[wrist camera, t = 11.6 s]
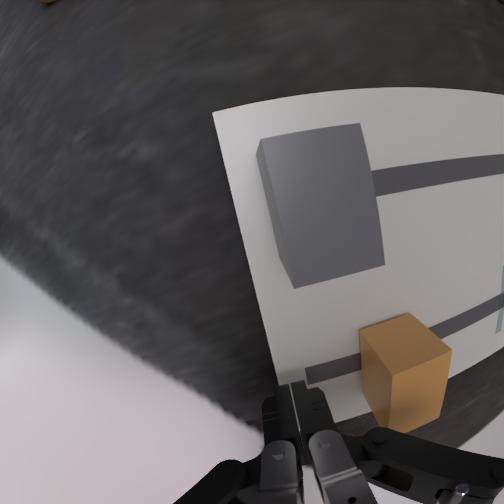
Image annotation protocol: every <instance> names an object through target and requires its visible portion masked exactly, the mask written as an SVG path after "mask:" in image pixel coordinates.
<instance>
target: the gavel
mask: <svg viewBox="0 0 504 504" xmlns="http://www.w3.org/2000/svg"><path fill="white" fill-rule="evenodd" d="M35 1H37V2H42V3H48V2H54V1H57V0H35Z"/></svg>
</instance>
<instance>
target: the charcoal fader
mask: <svg viewBox="0 0 504 504" xmlns="http://www.w3.org/2000/svg"><path fill="white" fill-rule="evenodd" d="M256 158H257V162H258V166H259V171H260V175H261V179H262V183H263V187H264V192H265V196H266V200H267V205H268V209H269V213H270V218H271V222H272V227H273V231H274V236H275V240H276V245H277V249H278V254H279V258H280V260H281V262H282V264H283V266H284V268H285V270H286V273H287V275H288V277H289V279H290V281H291V283H292V285H293V288H294V289H296V288H300V287H304V286H308V285H312V284H316V283H320V282H324V281H328V280H331V279H335V278H339V277H343V276H347V275H350V274H354V273H358V272H362V271H365V270H369V269H372V268H376V267H380V266H383V265H385V258H384V249H383V240H382V233H381V225H380V218H379V212H378V205H377V199H376V194H375V188H374V183H373V177H372V172H371V167H370V163H369V158H368V153H367V149H366V145H365V141H364V136H363V132H362V128H361V125H360V123H355V124H346V125H339V126H331V127H325V128H318V129H312V130H306V131H300V132H294V133H288V134H283V135H278V136H273V137H268V138H263V139H260V142H259V146H258V149H257V152H256Z"/></svg>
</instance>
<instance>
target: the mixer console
mask: <svg viewBox="0 0 504 504" xmlns="http://www.w3.org/2000/svg"><path fill="white" fill-rule="evenodd" d="M213 118H214V122H215V126H216V130H217V134H218V139H219V143H220V147H221V151H222V155H223V160H224V164H225V168H226V172H227V176H228V180H229V184H230V189H231V193H232V197H233V201H234V205H235V209H236V213H237V217H238V222H239V226H240V230H241V234H242V238H243V242H244V246H245V250H246V254H247V258H248V262H249V266H250V271H251V275H252V279H253V283H254V287H255V291H256V295H257V299H258V303H259V307H260V311H261V315H262V319H263V323H264V327H265V331H266V335H267V339H268V343H269V347H270V351H271V355H272V359H273V363H274V367H275V371H276V375H277V379H278V383H279V385H283V384H288V383H289V386H290V391H291V395H292V400H293V404H294V399H293V394H292V390H291V385H290V383H292V382H296V381H300V380H305V383H306V386H307V389H310V388H314V387H318V388H319V389H321V390H322V391H323V392H324V394H325V397H326V400H327V402H328V405H329V408H330V411H331V414H332V417H333V419H334V422H335V423H336V422H339V421H343V420H346V419H349V418H353V417H356V416H359V415H362V414H365V413H368V412H371V411H372V410H371V408H370V406H369V405H368V403H367V401H366V399H365V397H364V395H363V393H362V366H361V348H360V334H359V330H361V329H365V328H368V327H371V326H374V325H377V324H380V323H383V322H386V321H389V320H392V319H395V318H398V317H401V316H404V315H406V314H409V313H411V314H412V315H413V316H414V317H415V318H417V319H418V320H419V321H420V322H421V323H422V324H424V325H425V326H426V327H427V328H428V329H429V330H431V331H432V332H433V333H434V334H435V335H436V336H437V337H439V338H440V339H441V340H442V341H443V342H444V343H445V344H446V345H448V346H449V347H450V348H451V349H452V356H451V362H450V368H449V374H448V379H449V378H450V377H452V376H454V375H456V374H458V373H460V372H462V371H464V370H466V369H467V368H469V367H471V366H473V365H474V364H476V363H478V362H480V361H481V360H483V359H485V358H486V357H488V356H490V355H491V354H493V353H494V352H496V351H497V350H499V349H501V348H502V347H504V95H500V94H493V93H486V92H478V91H469V90H458V89H443V88H416V87H395V88H367V89H351V90H340V91H329V92H320V93H312V94H305V95H298V96H291V97H285V98H279V99H273V100H267V101H262V102H257V103H252V104H247V105H242V106H238V107H234V108H229V109H225V110H221V111H217V112H213ZM355 123H360V125H361V128H362V132H363V136H364V141H365V145H366V149H367V153H368V158H369V163H370V167H371V172H372V177H373V183H374V188H375V194H376V199H377V205H378V212H379V218H380V225H381V233H382V240H383V249H384V258H385V265H383V266H380V267H376V268H372V269H369V270H365V271H362V272H358V273H354V274H350V275H347V276H343V277H339V278H335V279H331V280H328V281H324V282H320V283H316V284H312V285H308V286H304V287H300V288H296V289H294V288H293V285H292V283H291V281H290V279H289V277H288V275H287V273H286V270H285V268H284V266H283V264H282V262H281V260H280V258H279V254H278V249H277V245H276V240H275V236H274V231H273V227H272V222H271V218H270V213H269V209H268V205H267V200H266V196H265V192H264V187H263V183H262V179H261V175H260V171H259V166H258V162H257V158H256V152H257V149H258V146H259V142H260V139H263V138H268V137H273V136H278V135H283V134H288V133H294V132H300V131H306V130H312V129H318V128H325V127H331V126H339V125H346V124H355ZM294 409H295V414H296V418H297V413H296V408H295V404H294ZM297 423H298V428H299V432H300V427H299V422H298V418H297Z"/></svg>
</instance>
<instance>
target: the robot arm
mask: <svg viewBox="0 0 504 504" xmlns="http://www.w3.org/2000/svg"><path fill="white" fill-rule="evenodd" d="M500 1H502V2H503V3H504V0H500ZM290 385H291V390H292V394H293V399H294V404H295V408H296V413H297V418H298V422H299V427H300V432H301V436H302V441H303V446H304V450H305V455H306V460H307V464H310V463H312V466H313V471H314V476H315V479H316V482H317V485H318V488H319V491H320V494H321V497H322V500H323V503H324V504H378V503H377V501H376V499H375V497H374V495H373V493H372V491H371V489H370V487H369V485H368V482H369V483H371V484H374V485H376V486H378V487H381V488H383V489H385V490H388V491H390V492H393V493H395V494H398V495H401V496H404V497H406V498H409V499H411V500H414V501H417V502H420V503H423V504H492V503H493V501H494V499H495V497H496V496H497V495H498V493H499V492H500V491H501V490H502V489H503V488H504V459H502V458H496V457H491V456H486V455H481V454H476V453H472V452H468V451H464V450H460V449H456V448H452V447H448V446H444V445H441V444H437V443H433V442H430V441H427V440H423V439H420V438H417V437H414V436H411V435H407V434H404V433H401V432H398V431H395V430H393V429H390V428H386V427H376V428H373V429H371V430H369V431H368V432H367V433H366V434H365V435H364V436H356V437H351V436H346V435H343V434H341V433H340V432H339V431H338V430H337V428H336V425H335V422H334V419H333V417H332V414H331V411H330V408H329V405H328V402H327V400H326V397H325V394H324V392H323V391H322V390H321V389H319V388H318V387H314V388H310V389H307V386H306V383H305V380H300V381H296V382H292V383H290ZM274 389H275V397H270V398H266V399H265V401H264V403H263V405H262V414H263V428H264V442H265V446H264V449H263V450H262V452H261V454H260V455H258V456H257V457H256V458H254V459H252V460H249V461H247V462H244V463H242V462H240V461H238V460H225V461H222V462H220V463H219V464H217V465H216V466H215V467H214V468H213V469H212V470H211V471H210V472H209V473H208V474H207V475H205V476H204V477H203V478H202V479H201V480H200V481H199V482H198V483H197V484H196V485H194V486H193V487H192V488H191V489H190V490H189V491H188V492H186V493H185V494H184V495H183V496H182V497H180V498H179V499H178V500H177V501H176V502H174V503H173V504H305V501H304V488H303V471H302V465H306V462H305V457H304V452H303V448H302V443H301V438H300V433H299V428H298V423H297V418H296V414H295V409H294V404H293V400H292V395H291V391H290V386H289V383H288V384H283V385H279V386H274Z"/></svg>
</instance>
